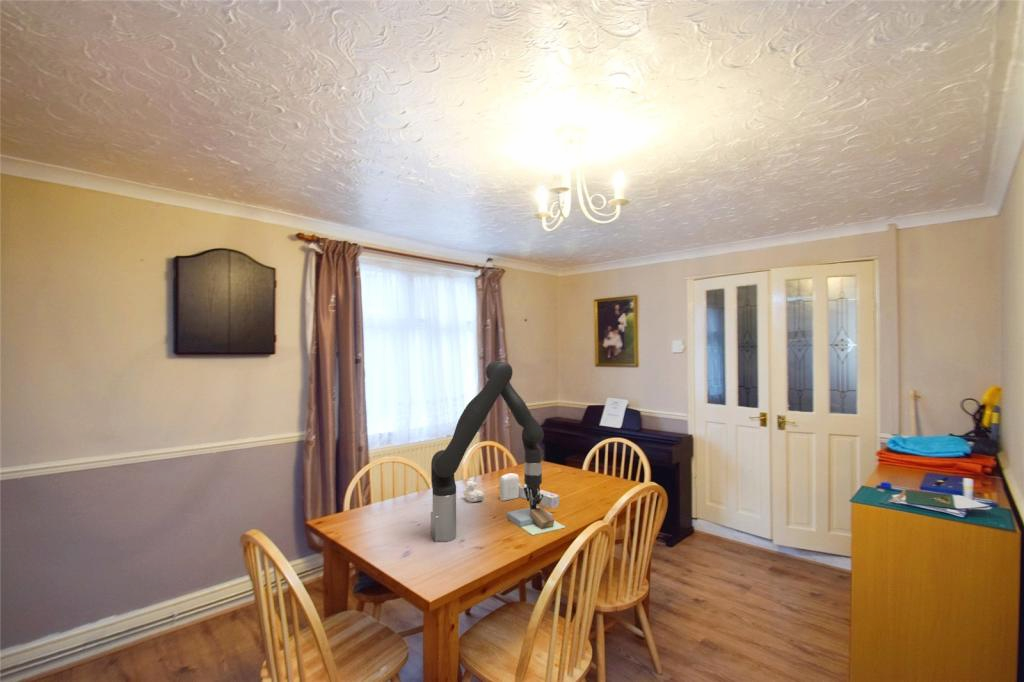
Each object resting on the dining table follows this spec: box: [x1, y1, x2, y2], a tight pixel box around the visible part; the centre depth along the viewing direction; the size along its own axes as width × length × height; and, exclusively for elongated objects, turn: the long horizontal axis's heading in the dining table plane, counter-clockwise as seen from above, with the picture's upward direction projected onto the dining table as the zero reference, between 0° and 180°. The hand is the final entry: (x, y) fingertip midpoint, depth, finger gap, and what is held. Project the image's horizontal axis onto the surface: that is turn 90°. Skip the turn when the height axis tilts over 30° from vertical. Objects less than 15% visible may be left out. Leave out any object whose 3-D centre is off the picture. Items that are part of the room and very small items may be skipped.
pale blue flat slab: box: [506, 505, 554, 528], centre depth 191 cm, size 16×12×2 cm
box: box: [519, 482, 560, 509], centre depth 215 cm, size 27×5×6 cm, turn 42°
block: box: [530, 506, 555, 529], centre depth 183 cm, size 6×9×3 cm, turn 32°
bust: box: [462, 480, 485, 503], centre depth 214 cm, size 12×8×11 cm
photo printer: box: [499, 472, 520, 502], centre depth 218 cm, size 10×4×12 cm, turn 123°
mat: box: [520, 520, 566, 536], centre depth 181 cm, size 16×9×1 cm, turn 119°
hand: (533, 512), depth 188 cm, fingers closed
